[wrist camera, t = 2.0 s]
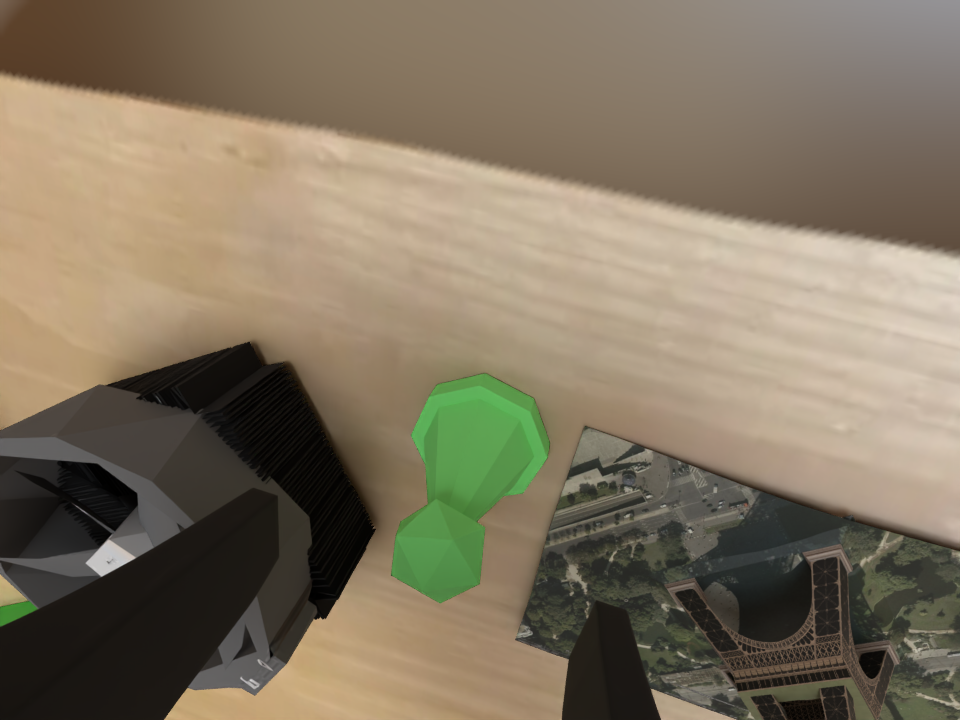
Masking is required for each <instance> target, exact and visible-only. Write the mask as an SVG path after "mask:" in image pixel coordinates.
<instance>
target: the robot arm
mask: <svg viewBox="0 0 960 720" xmlns="http://www.w3.org/2000/svg"><path fill="white" fill-rule="evenodd" d="M278 558H279V522H278V495H275V494H272V493H269V492H265V491H262V490H259V489H256V488H251V489H249V490H248V491H246V492H244V493H243V494H241V495H239V496H238V497H236V498H235V499H233V500H231V501H230V502H228V503H227V504H225V505H223V506H222V507H220V508H218V509H217V510H215V511H214V512H212V513H210V514H209V515H207V516H206V517H204V518H202V519H201V520H199V521H197V522H196V523H194V524H192V525H191V526H189V527H188V528H186V529H184V530H183V531H181V532H179V533H178V534H176V535H174V536H172V537H171V538H169V539H167V540H166V541H164V542H162V543H161V544H159V545H157V546H156V547H154V548H152V549H150V550H149V551H147V552H145V553H144V554H142V555H140V556H138V557H137V558H135V559H133V560H131V561H129V562H128V563H126V564H124V565H122V566H120V567H118V568H117V569H115V570H113V571H111V572H109V573H107V574H106V575H104V576H102V577H100V578H98V579H96V580H95V581H93V582H91V583H89V584H87V585H85V586H83V587H81V588H79V589H77V590H75V591H74V592H72V593H70V594H68V595H66V596H64V597H62V598H60V599H58V600H56V601H54V602H52V603H50V604H48V605H45V606H43V607H41V608H39V609H37V610H35V611H33V612H31V613H29V614H27V615H24V616H22V617H20V618H18V619H16V620H14V621H12V622H9V623H7V624H5V625H3V626H0V720H164V719H165V718H166V716H167V715H168V713H169V712H170V711H171V709H172V708H173V706H174V705H175V704H176V702H177V701H178V699H179V698H180V697H181V696H182V694H183V693H184V692H185V690H186V689H187V688H188V686H189V685H190V684H191V682H192V681H193V680H194V678H195V677H196V676H197V675H198V673H199V672H200V671H201V669H202V668H203V667H204V665H205V664H206V663H207V661H208V660H209V659H210V657H211V656H212V655H213V654H214V652H215V651H216V650H217V648H218V647H219V646H220V644H221V643H222V642H223V640H224V639H225V638H226V636H227V635H228V634H229V632H230V631H231V630H232V628H233V627H234V626H235V624H236V623H237V622H238V620H239V619H240V618H241V616H242V615H243V614H244V612H245V611H246V610H247V608H248V607H249V606H250V604H251V603H252V602H253V600H254V599H255V597H256V595H257V594H258V592H259V590H260V589H261V587H262V586H263V584H264V582H265V581H266V579H267V577H268V576H269V574H270V572H271V570H272V569H273V567H274V565H275V564H276V562H277V560H278ZM562 720H661V718H660V716H659V713H658V710H657V707H656V704H655V701H654V698H653V695H652V692H651V689H650V686H649V683H648V679H647V676H646V673H645V670H644V667H643V663H642V660H641V657H640V653H639V650H638V646H637V643H636V639H635V636H634V632H633V629H632V625H631V621H630V617H629V614H628V613H627V611H626V610H625V609H622V608H619V607H616V606H613V605H610V604H607V603H604V602H601V601H598V600H596V601H595V604H594V606H593V608H592V610H591V612H590V614H589V616H588V618H587V620H586V622H585V625H584V627H583V629H582V631H581V633H580V635H579V637H578V639H577V641H576V643H575V646H574V648H573V650H572V652H571V654H570V656H569V662H568V670H567V678H566V685H565V694H564V702H563V711H562Z"/></svg>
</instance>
